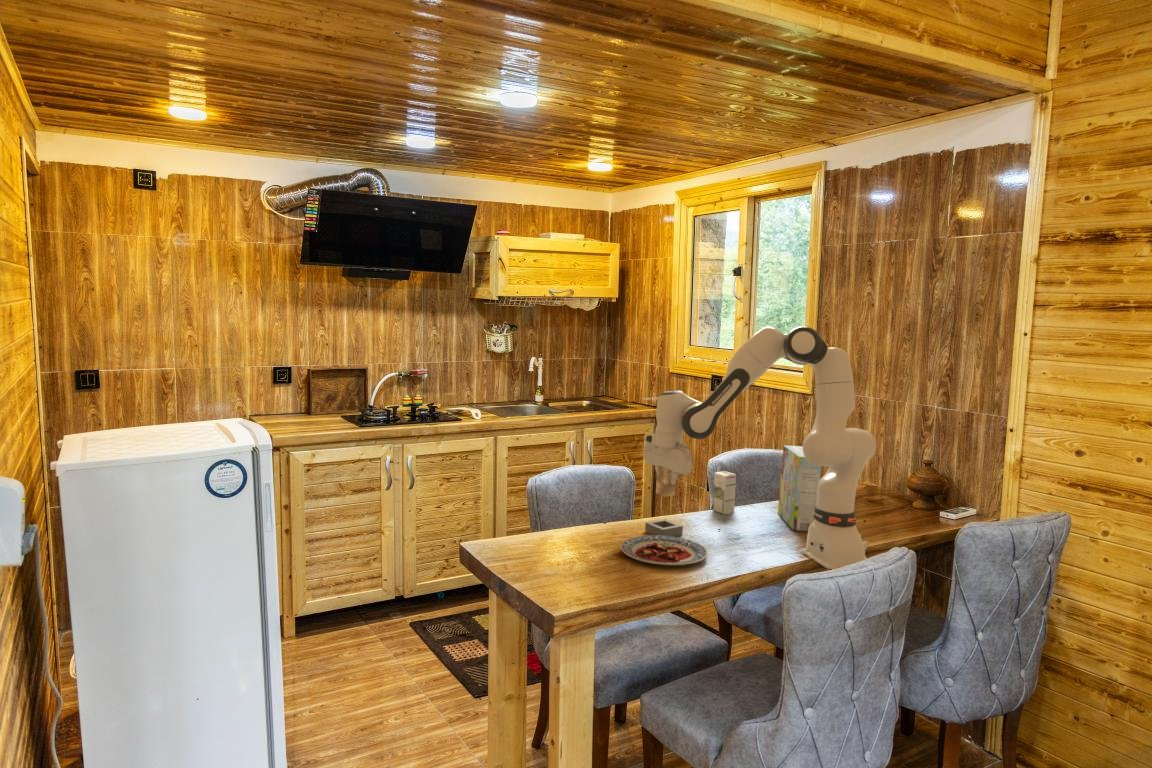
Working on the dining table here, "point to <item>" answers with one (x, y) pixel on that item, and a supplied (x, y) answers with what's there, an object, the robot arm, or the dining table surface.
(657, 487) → the oak peg
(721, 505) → the syrup box
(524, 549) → the dining table surface
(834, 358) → the robot arm
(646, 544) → the ceramic plate
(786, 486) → the snack box
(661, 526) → the square collar
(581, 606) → the dining table surface
